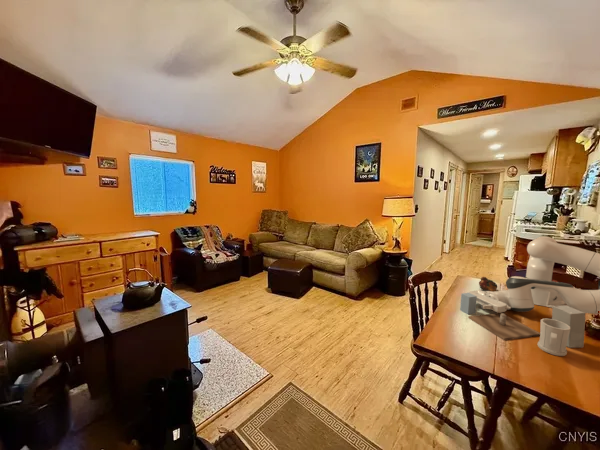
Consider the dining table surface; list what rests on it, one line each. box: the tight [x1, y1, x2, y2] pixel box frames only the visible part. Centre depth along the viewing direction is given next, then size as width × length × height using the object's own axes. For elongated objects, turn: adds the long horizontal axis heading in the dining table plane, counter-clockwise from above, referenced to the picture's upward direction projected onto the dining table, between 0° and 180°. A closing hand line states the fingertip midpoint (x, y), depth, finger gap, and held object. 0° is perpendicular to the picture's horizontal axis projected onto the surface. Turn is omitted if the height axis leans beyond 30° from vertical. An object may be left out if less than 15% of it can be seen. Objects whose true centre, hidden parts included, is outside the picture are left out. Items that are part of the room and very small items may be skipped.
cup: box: [537, 318, 571, 357], centre depth 105 cm, size 10×9×12 cm
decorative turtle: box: [478, 276, 498, 292], centre depth 166 cm, size 10×15×8 cm, turn 174°
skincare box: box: [551, 304, 587, 349], centre depth 110 cm, size 8×7×16 cm
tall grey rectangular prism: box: [459, 292, 477, 315], centre depth 139 cm, size 5×5×10 cm
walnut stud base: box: [467, 312, 540, 341], centre depth 124 cm, size 20×20×7 cm
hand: (474, 303), depth 138 cm, fingers open, 8 cm apart
